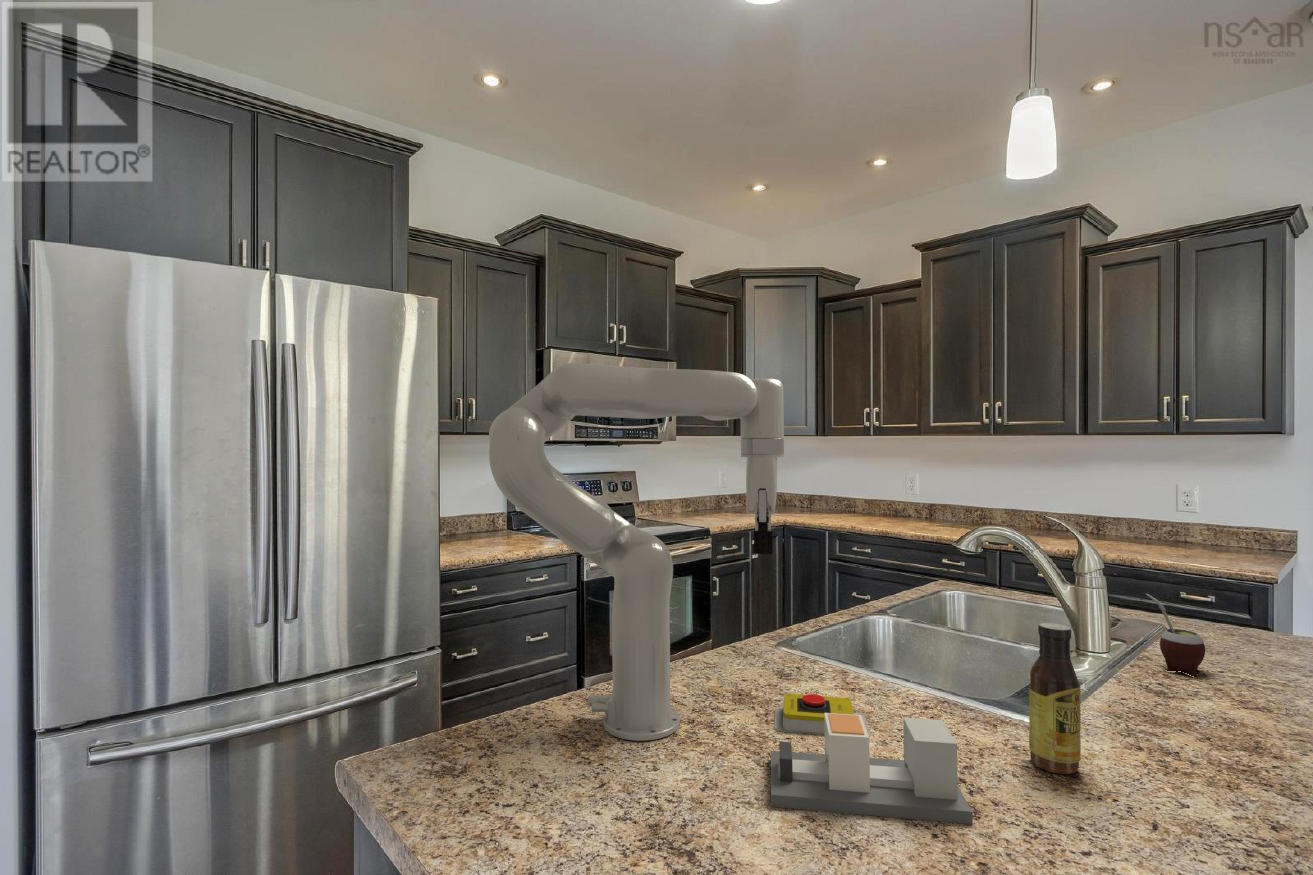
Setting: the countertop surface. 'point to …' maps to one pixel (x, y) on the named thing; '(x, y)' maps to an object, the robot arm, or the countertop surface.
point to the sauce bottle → (1054, 704)
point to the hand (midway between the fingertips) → (763, 553)
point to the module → (847, 752)
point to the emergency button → (810, 712)
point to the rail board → (880, 780)
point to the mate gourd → (1181, 647)
